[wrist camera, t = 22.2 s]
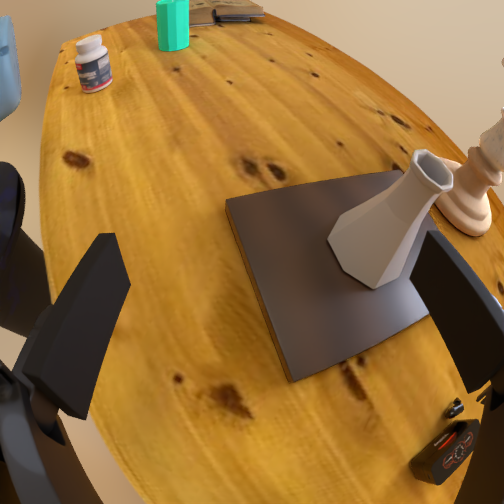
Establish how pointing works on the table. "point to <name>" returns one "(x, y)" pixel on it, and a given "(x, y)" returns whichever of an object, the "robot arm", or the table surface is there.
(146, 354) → the table surface
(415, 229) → the flask
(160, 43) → the candle
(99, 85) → the pill bottle
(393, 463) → the table surface
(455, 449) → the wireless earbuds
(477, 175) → the candle holder
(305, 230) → the walnut board
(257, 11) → the book
